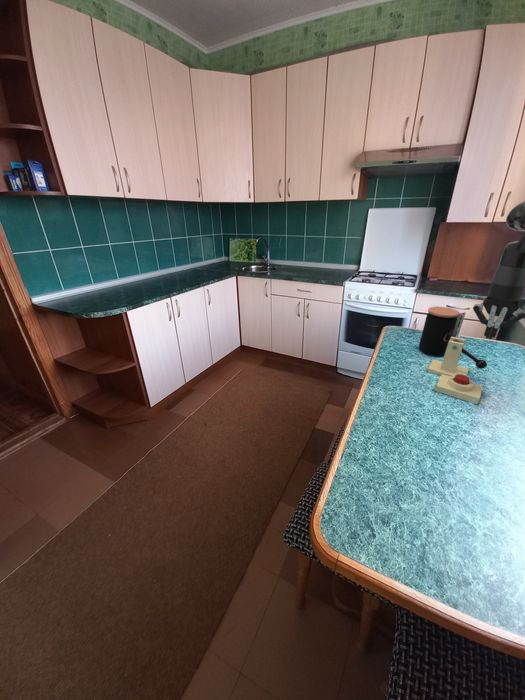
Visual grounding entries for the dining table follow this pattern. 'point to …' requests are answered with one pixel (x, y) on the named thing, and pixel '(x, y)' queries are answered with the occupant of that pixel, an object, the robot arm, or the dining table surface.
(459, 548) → the dining table surface
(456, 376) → the button
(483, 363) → the black lever
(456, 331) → the candy bar box
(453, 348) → the lever base
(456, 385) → the button block
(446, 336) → the coffee jar
